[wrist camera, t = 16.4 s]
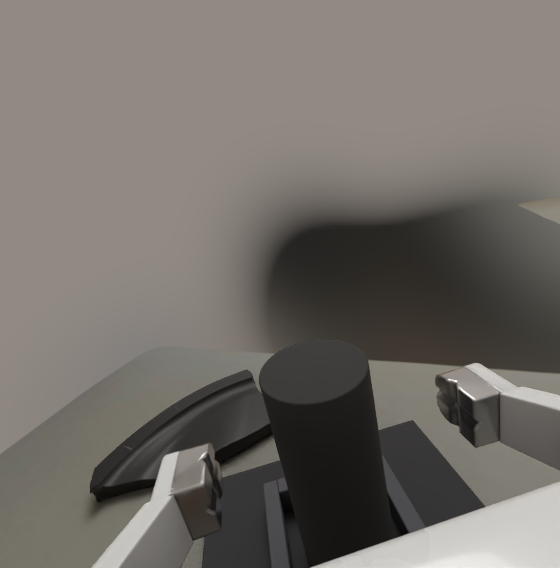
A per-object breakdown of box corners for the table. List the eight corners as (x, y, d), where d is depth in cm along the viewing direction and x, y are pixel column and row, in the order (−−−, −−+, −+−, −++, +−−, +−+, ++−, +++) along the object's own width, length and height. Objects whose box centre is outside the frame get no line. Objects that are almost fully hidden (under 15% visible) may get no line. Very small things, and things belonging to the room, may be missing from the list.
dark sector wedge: (107, 444, 25) (100, 429, 25) (251, 380, 30) (247, 367, 30) (88, 535, 18) (78, 516, 17) (284, 431, 23) (279, 414, 22)
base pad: (180, 935, 7) (147, 900, 7) (213, 492, 19) (202, 463, 18) (653, 729, 9) (666, 680, 8) (413, 431, 20) (410, 401, 19)
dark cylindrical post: (329, 634, 11) (273, 422, 8) (296, 528, 15) (249, 358, 12) (418, 584, 12) (393, 375, 9) (365, 495, 16) (336, 329, 13)
